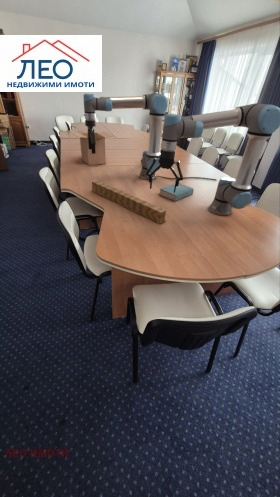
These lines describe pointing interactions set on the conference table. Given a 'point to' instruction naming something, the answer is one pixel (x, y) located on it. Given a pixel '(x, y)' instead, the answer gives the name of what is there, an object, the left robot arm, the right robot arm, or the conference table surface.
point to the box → (87, 153)
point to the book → (176, 191)
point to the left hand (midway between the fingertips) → (92, 151)
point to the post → (129, 201)
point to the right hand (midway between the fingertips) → (162, 189)
